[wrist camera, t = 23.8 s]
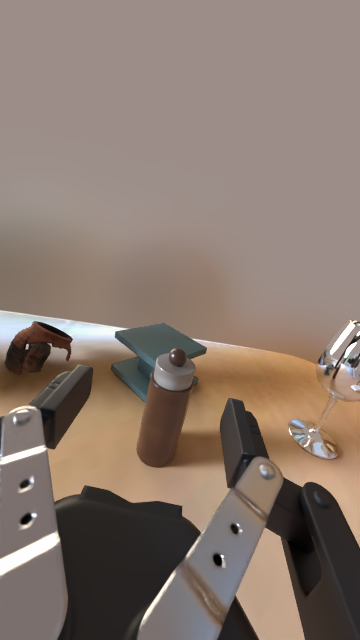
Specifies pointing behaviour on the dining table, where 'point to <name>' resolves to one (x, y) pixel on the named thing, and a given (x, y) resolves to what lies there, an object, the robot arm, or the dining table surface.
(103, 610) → the robot arm
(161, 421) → the pepper mill
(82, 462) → the dining table surface
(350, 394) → the wineglass
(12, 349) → the brown clay hollow piece
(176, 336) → the stand
